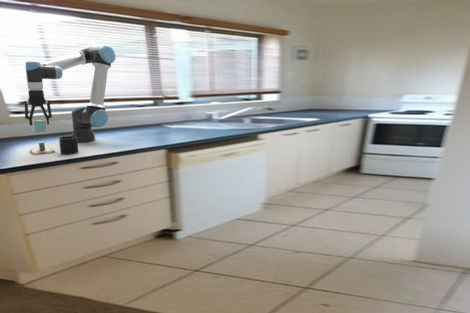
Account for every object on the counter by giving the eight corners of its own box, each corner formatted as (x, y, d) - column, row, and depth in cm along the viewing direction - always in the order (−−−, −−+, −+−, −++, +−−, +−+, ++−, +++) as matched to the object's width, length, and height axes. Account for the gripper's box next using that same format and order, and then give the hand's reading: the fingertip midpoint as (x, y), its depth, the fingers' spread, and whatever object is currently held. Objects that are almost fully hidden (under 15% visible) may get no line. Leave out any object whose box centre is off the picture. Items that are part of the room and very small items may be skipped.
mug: (70, 149, 217) (69, 135, 215) (81, 152, 210) (80, 137, 208) (55, 152, 210) (53, 137, 208) (65, 155, 203) (64, 139, 201)
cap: (44, 129, 211) (43, 119, 209) (47, 131, 206) (46, 120, 205) (33, 130, 207) (32, 120, 206) (35, 132, 203) (34, 121, 201)
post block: (51, 149, 217) (50, 140, 216) (55, 152, 209) (54, 143, 207) (30, 151, 210) (29, 142, 209) (33, 155, 202) (32, 145, 201)
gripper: (52, 89, 210) (56, 128, 215) (15, 89, 199) (20, 131, 204) (55, 89, 204) (59, 130, 210) (17, 90, 193) (22, 132, 198)
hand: (40, 130), depth 207 cm, fingers closed on cap, 6 cm apart
